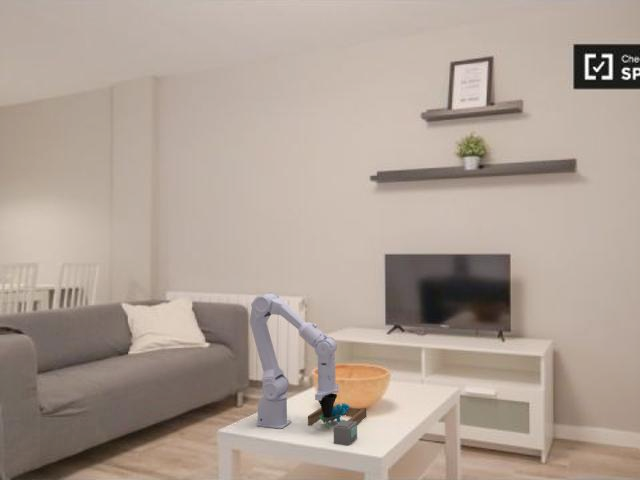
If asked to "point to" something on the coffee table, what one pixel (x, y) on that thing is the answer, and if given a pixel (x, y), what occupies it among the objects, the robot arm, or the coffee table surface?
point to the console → (345, 432)
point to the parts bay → (353, 411)
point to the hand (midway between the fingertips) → (327, 417)
